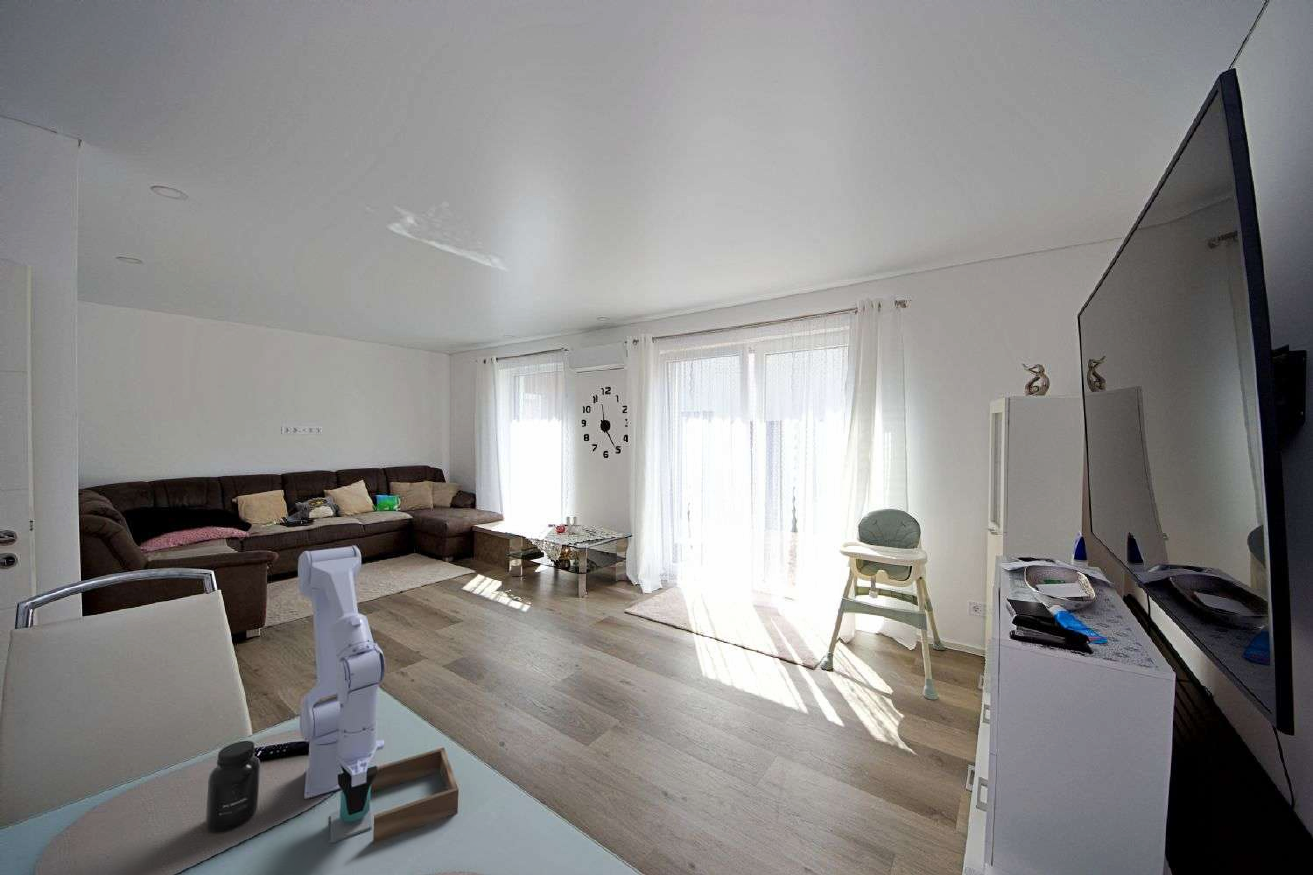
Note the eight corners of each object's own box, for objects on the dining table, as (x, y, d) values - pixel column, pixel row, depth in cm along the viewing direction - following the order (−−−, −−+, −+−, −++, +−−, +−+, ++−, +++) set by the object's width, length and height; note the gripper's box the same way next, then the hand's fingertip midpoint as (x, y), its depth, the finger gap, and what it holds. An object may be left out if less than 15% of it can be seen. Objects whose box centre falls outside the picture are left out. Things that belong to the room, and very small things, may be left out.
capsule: (339, 808, 85) (341, 770, 85) (369, 799, 87) (370, 762, 87) (339, 825, 81) (341, 786, 81) (370, 815, 84) (372, 776, 84)
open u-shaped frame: (368, 790, 91) (369, 769, 91) (443, 767, 98) (444, 747, 99) (373, 842, 80) (374, 818, 80) (457, 812, 87) (458, 789, 87)
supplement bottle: (227, 838, 80) (230, 764, 80) (194, 830, 81) (197, 757, 81) (268, 807, 86) (271, 739, 87) (237, 801, 88) (240, 734, 88)
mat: (330, 815, 85) (330, 812, 85) (369, 802, 88) (369, 800, 88) (330, 843, 79) (330, 840, 79) (371, 828, 83) (371, 826, 83)
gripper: (388, 737, 81) (385, 820, 80) (381, 698, 93) (378, 770, 92) (337, 751, 77) (334, 838, 76) (337, 708, 89) (334, 783, 89)
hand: (355, 802), depth 84 cm, fingers closed on capsule, 4 cm apart
